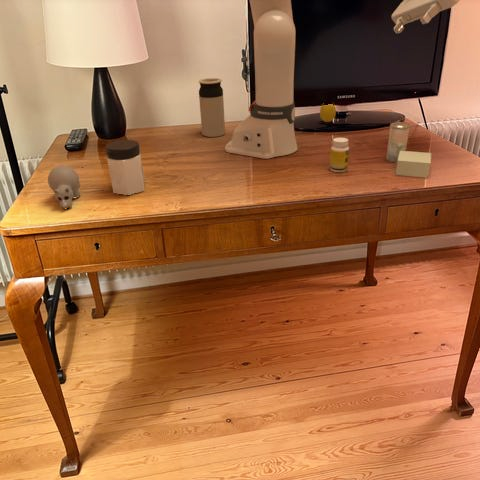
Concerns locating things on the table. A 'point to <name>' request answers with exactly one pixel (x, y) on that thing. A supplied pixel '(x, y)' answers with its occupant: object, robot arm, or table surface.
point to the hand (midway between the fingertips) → (409, 26)
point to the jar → (125, 167)
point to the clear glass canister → (397, 140)
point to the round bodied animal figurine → (64, 184)
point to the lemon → (327, 112)
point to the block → (413, 164)
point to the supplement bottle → (339, 155)
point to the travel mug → (211, 107)
